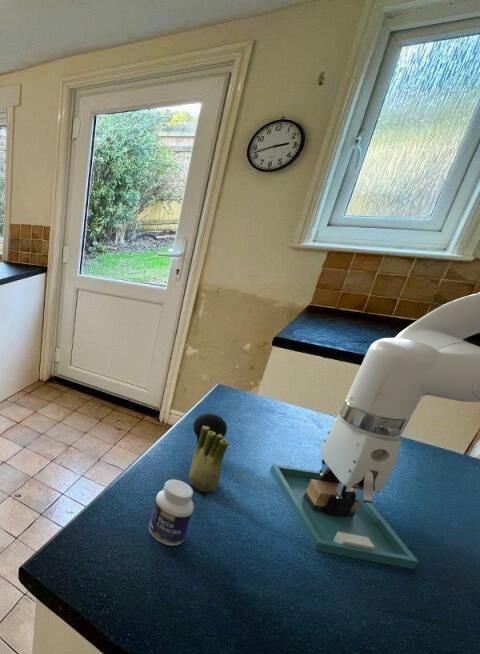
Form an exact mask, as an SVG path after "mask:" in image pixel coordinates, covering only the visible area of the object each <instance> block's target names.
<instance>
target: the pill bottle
mask: <svg viewBox="0 0 480 654" xmlns="http://www.w3.org/2000/svg"><path fill="white" fill-rule="evenodd" d="M193 495H194V491H193V488H192V486H191V485H190V484H188V483H186V482H184V481H182V480H179V479H169V480H167V481H165V483H164V486H163V489H162V490H160V491H158V493H157V494H156V497H155V501H154V505H153V508H152V512H151V516H150V520H149V524H148V530H149V533H150V535H151V536H152V537H153V538H154V539H155V540H156V541H157V542H159V543H161V544H163V545H167V546H173V547H174V546H179V545H181V544H182V543H184V540H185V538H186V534H187V531H188V528H189V525H190V521H191V519H192V516H193V513H194V509H195V506H194V502H193V500H192V499H193Z"/></svg>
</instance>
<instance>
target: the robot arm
mask: <svg viewBox="0 0 480 654" xmlns="http://www.w3.org/2000/svg"><path fill="white" fill-rule="evenodd" d="M477 334H480V292H477V293H473V294H469V295H466V296H463V297H459V298H457V299H454V300H451V301H449V302H447V303H445V304H442V305H440V306H439V307H437V308H435V309H433V310H432V311H430V312H428V313H427V314H425V315H423V316H421V317H420V318H418V319H417V320H416V321H414V322H412V323H411V324H410V325H408V326H407V327H406V328H404V329H403V330H401V331H400V332H399V333H398V334H397V335H396V336H395V337H387V338H386V337H383V338H380V339H377V340H374V341H373V342H372V343H371V344H370V346H369V347H368V350H367V351H366V353H365V355H364V358H363V360H362V362H361V365H360V367H359V368H358V371H357V373H356V375H355V378H354V380H353V382H352V384H351V387H350V389H349V391H348V393H347V395H346V398H345V400H344V402H343V404H342V406H341V409H340V411H339V412H338V416H337V417H336V418H335V420H334V421H333V422H332V424H331V426H330V428H329V430H328V432H327V433H326V436H325V437H324V439H323V442H322V444H321V447H320V451H319V454H320V457H321V468H320V469H319V471H320V472H319V474H320V476H322V477H319V479H318V480H319V481H326V482H332V483H339V485H338V488H337V491H336V494H332V495H331V497H330V499H329V501H328V503H327V505H326V507H325V509H324V512H325V513H326V514H328V515H334V516H340V517H347V516H348V514H349V512H350V510H351V509H352V507H353V505H354V503H355V502H364V503H371V504H373V498H374V493H377V494H379V493H381V492H382V491H383V490H384V488H385V486H386V484H387V483H388V481H389V479H390V476H391V474H392V472H393V470H394V467H395V465H396V463H397V460H398V456H399V453H400V449H401V444H402V438H400V437H401V436H402V435H403V432H404V431H405V429H406V427H407V425H408V423H409V422H410V420H411V418H412V417H413V414H414V412H415V410H416V409H417V407H418V405H419V403H420V401H421V399H422V398H423V397H425V396H430V397H436V398H441V399H446V400H451V401H456V402H457V401H458V402H464V403H480V346H478V345H476V344H474V343H471V342H468V341H467V340H465V339H467V338H470V337H471V336H474V335H477ZM338 479H339V480H338ZM347 488H354V490H353V492H351V491H348V492H346V489H347Z"/></svg>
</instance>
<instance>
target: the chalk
mask: <svg viewBox="0 0 480 654" xmlns="http://www.w3.org/2000/svg"><path fill="white" fill-rule="evenodd" d="M333 541H334V542H335V543H340V544H345V545H351V546H356V547H362V548H367V549H372V550H374V548H375V546H374V545H373V544H372V542H371V541H370V539H369V538H368V537H364V536H358V535H353V534H348V533H342V532H337V534H336V536H335V538H334V539H333Z"/></svg>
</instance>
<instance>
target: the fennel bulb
mask: <svg viewBox="0 0 480 654" xmlns="http://www.w3.org/2000/svg"><path fill="white" fill-rule="evenodd" d="M215 437H216V433H215V432H213V431H210V428H209V427H207V426H202V429H201V433H200V437H199V441H198V443H197V442H196V447H195V450H194V452H193V455H192V459H191V465H190V466H191V467H190V469H189V473H188V479H189V481H188V482H189V486H190V487H191V488H192V489H194V490H196V491H198V492H201V493H213V492H215V491H217V489H218V487H219V483H220V478H221V471H222V463H223V460H224V457H225V453H226V451H227V449H228V446H229V442H228V441H227V440H226V439H225V438H224V437H223V436H222V435H221V434H218V435H217V437H216V439H215Z"/></svg>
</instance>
